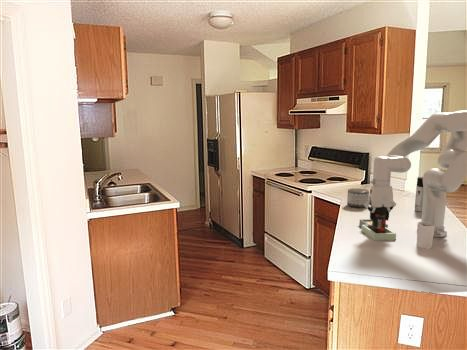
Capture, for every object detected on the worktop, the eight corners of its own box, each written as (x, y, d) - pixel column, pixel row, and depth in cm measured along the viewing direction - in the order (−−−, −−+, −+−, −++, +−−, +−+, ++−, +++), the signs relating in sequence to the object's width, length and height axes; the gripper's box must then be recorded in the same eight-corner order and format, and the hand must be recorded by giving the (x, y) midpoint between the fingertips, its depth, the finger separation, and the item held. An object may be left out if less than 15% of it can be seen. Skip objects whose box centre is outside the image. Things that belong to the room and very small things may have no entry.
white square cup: (413, 246, 153) (415, 224, 151) (418, 242, 158) (420, 220, 156) (430, 250, 148) (432, 227, 147) (435, 246, 153) (437, 224, 151)
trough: (395, 239, 161) (396, 233, 161) (374, 240, 160) (375, 234, 160) (380, 230, 175) (381, 224, 174) (361, 230, 174) (361, 224, 174)
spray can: (415, 208, 215) (418, 176, 212) (428, 210, 211) (431, 177, 208) (413, 210, 210) (415, 178, 207) (425, 212, 206) (428, 179, 203)
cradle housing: (387, 230, 174) (387, 224, 174) (368, 231, 173) (368, 225, 173) (377, 224, 184) (378, 219, 184) (359, 225, 183) (359, 219, 183)
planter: (368, 209, 215) (369, 192, 213) (346, 207, 219) (347, 191, 217) (367, 204, 226) (368, 188, 225) (347, 203, 230) (348, 187, 229)
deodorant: (381, 230, 171) (383, 200, 168) (387, 234, 165) (389, 203, 162) (369, 231, 170) (371, 201, 168) (374, 235, 165) (376, 204, 162)
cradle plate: (383, 228, 175) (384, 225, 175) (369, 228, 175) (369, 225, 174) (376, 223, 182) (376, 221, 182) (362, 224, 182) (363, 221, 182)
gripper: (367, 184, 159) (365, 223, 162) (403, 183, 161) (400, 221, 163) (360, 181, 167) (358, 218, 169) (394, 180, 168) (392, 217, 171)
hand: (379, 219), depth 166 cm, fingers closed on deodorant, 5 cm apart
